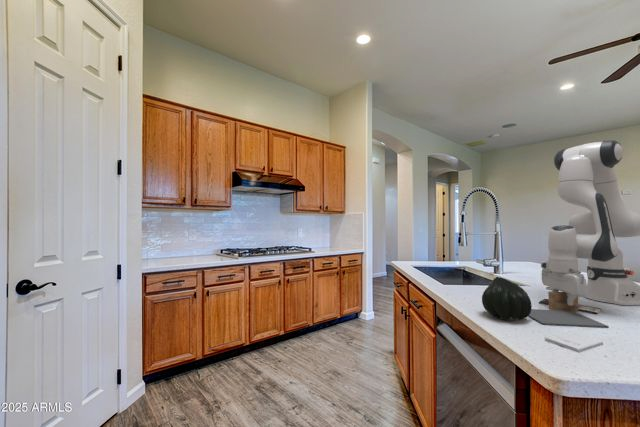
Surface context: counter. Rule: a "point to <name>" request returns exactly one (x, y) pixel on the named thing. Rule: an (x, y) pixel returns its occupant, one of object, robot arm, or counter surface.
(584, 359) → the counter surface
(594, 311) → the chocolate bar
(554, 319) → the mat
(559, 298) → the box
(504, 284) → the squash
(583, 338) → the external hard drive
